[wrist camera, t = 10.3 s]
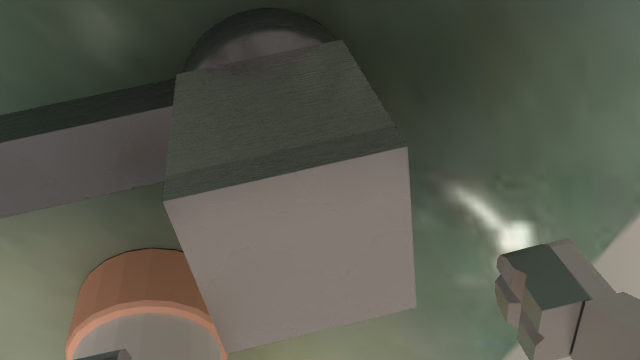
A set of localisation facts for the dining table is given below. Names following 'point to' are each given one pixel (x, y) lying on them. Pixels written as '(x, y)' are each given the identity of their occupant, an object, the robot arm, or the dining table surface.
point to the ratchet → (125, 121)
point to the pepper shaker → (143, 310)
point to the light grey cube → (289, 195)
